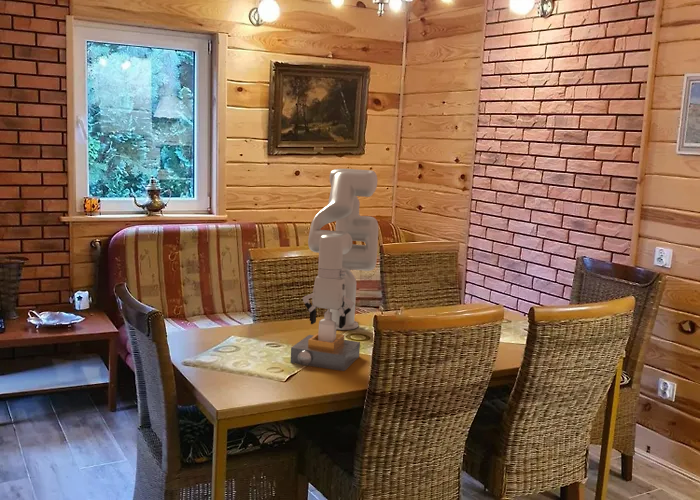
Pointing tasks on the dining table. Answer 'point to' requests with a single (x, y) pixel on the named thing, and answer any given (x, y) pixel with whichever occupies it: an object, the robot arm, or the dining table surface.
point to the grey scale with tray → (325, 352)
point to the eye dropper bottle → (327, 328)
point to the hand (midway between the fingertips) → (327, 325)
